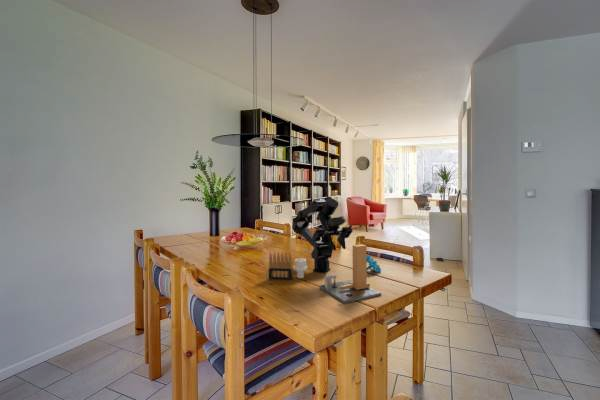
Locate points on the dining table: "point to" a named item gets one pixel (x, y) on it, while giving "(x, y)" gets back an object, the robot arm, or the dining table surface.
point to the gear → (373, 264)
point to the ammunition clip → (276, 270)
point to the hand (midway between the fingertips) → (340, 249)
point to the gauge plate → (347, 290)
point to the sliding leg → (359, 268)
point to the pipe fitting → (300, 267)
